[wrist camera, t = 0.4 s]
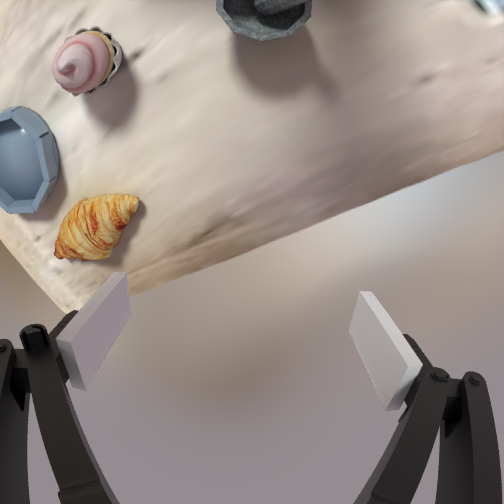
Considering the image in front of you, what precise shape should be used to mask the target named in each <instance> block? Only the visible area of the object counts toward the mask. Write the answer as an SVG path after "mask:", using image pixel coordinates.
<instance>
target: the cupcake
mask: <svg viewBox="0 0 504 504" xmlns="http://www.w3.org/2000/svg"><path fill="white" fill-rule="evenodd" d="M121 61H122V50H121V47H120V45H119V44H118V42H117V41H116V40H114V39H113V36H112V33H109V32H103V31H102V29H101V28H100V27H98V26H95V27H92V28H91V29H89V30H88V29H86V28H81V29H79V30H78V31H77V32H76V33H75V35H74V36H70V37H68V38H66V39H65V41H64V43H63V44H62V45H61V46H60V48H59V49H58V51H57V52H56V55H55V57H54V60H53V64H52V70H53V75H54V78H55V80H56V82H58V83H59V84H60V85H61V88H62V89H64V90H66V91H68V92H70V93H72V94H73V96H74V97H75V96H78V95H80V94H81V93H84V94H86V95H88V96H92V95H93V93H94V92H95V90H96V89H97V88H102V87H106V86H107V84H108V81H109V78H110V77H111V76H113V75H114V74H115V73H116V71H117V70H118V68H119V66H120V64H121Z"/></svg>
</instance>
